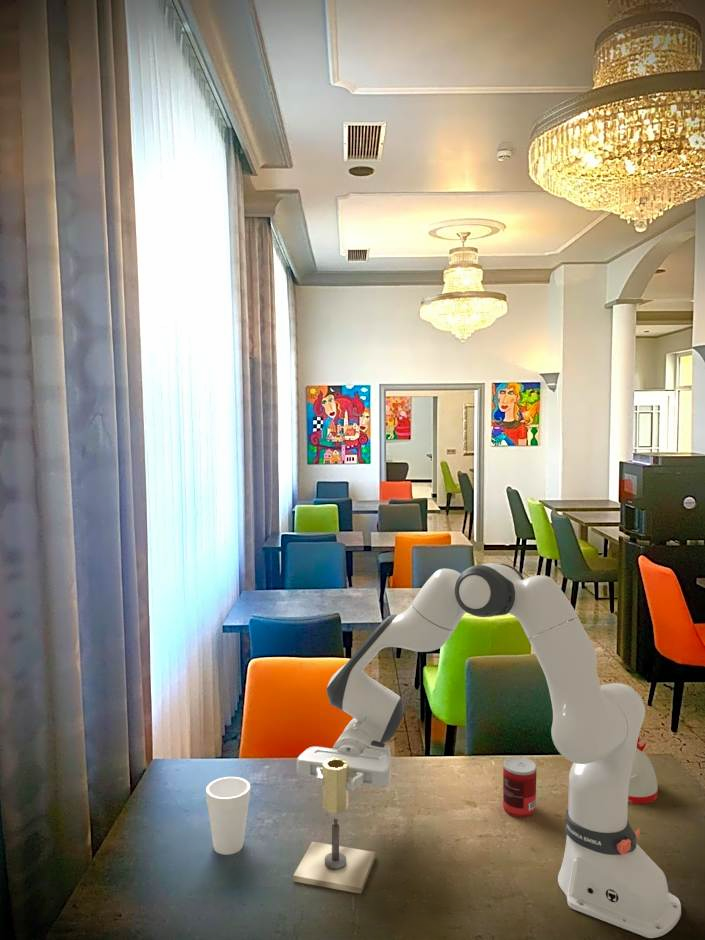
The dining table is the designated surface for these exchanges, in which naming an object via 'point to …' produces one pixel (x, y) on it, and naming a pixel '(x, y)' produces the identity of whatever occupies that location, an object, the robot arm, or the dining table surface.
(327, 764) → the collar
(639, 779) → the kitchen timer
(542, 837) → the dining table surface
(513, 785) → the canned food
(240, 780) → the foam cup
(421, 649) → the robot arm
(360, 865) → the shaft stand
